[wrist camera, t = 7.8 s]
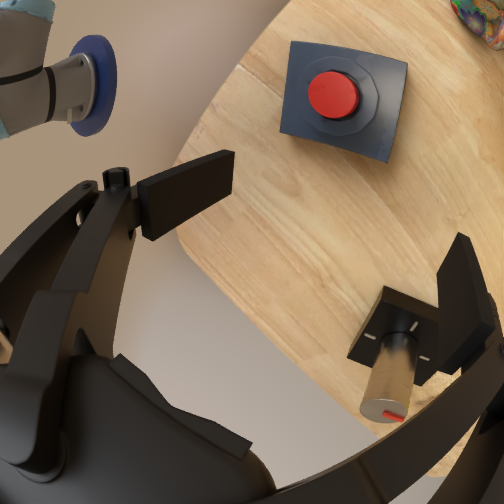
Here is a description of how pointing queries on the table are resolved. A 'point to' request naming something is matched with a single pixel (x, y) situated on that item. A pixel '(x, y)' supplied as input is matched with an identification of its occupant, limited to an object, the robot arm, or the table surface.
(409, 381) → the stove knob
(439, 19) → the table surface
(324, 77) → the stop button
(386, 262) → the table surface
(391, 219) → the table surface
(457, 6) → the mug
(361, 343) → the stove panel
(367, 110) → the control block
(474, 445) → the robot arm
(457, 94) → the table surface
